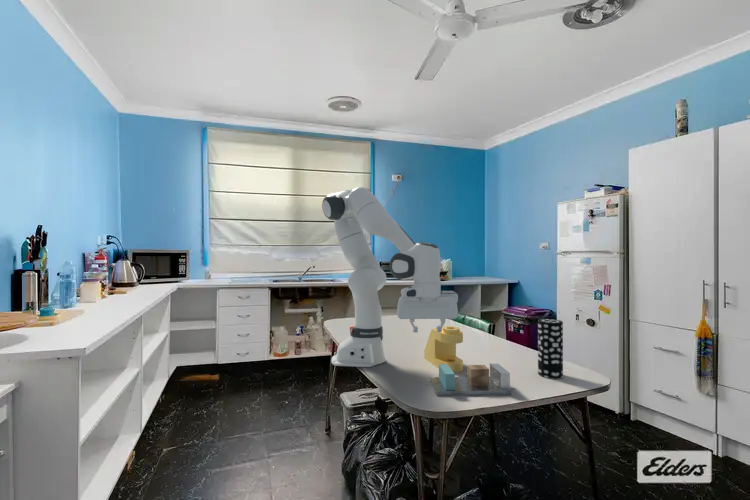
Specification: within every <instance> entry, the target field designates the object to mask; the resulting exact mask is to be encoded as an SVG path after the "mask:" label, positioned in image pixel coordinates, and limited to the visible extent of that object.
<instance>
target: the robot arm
mask: <svg viewBox="0 0 750 500" xmlns="http://www.w3.org/2000/svg"><path fill="white" fill-rule="evenodd" d="M321 203H322V204H321V206H322V207H321V208H322V212H323V214H324V216H325V218H327V219H328V220H329V221H334V228H335V229H334V230H335V234H336V236H337V237H336V238H337V239H338V242H339V245H340V248H341V250H342V252H343V255H344V258H345V260H346V261H347V262H348V263H349V264H350V266H351V267H352V269H353V270H354V271H352V272H351V273H350V274H349V276H348V279H347V286H348V288H349V289H350V291H351V294H352V299H353V304H354V325H350V326H349V333H350V335H349V336H348V337H347V338H346V339H344V340H343V341H341V342H340V344H339V345H338V347H337V351H336V354H334V355H333V356H331V364H332V365H333V366H335V367H336V366H337V367H353V368H354V367H356V368H357V367H359V368H371V367H374V366H377V365H381V364H383V363H385V362H386V360H387V359H386V356H385V352H384V347H383V345H384V344H383V339H384V328H383V326H382V325H383V324H382V315H383V313H382V306H381V303H380V299H379V293H378V291H380V290H381V289H383V288H384V286H385V284H386V283H387V274H386V272H385V271H384V270H383V268H382V267H381V265H380V264H379V262H378V260H377V259H376V257H375V255H374V254H373V252H372V250H371V248H370V246H369V242H368V240H367V238H366V236H365V233H364V231H365V232H366V233H368V234H370V235H373V236H377V237H378V238H379V237H380V238H383V239H385V240H388V241H390V242H391V243H392V244H394V246H395V247H396V249H398V251H399V252H398V253H395V254H394V255H392V257H391V258H390V260H389V271H390V273H391V275H392V276H393V277H394V278H395V279H396V280H401V281H404V280H413V285H410V286H407V287H404V288H402V289H401V290H400V295H401V296H400V297H398V302H397V307H396V308H397V309H396V315H397V318H399V320H408V321H409V323H410V324H411V326H412V333H418V332H419V331H418V330H419V328H418V326H417V325H415V324H414V323H415V320H439V325H436V328H437V332H442V327H444V326H445V324H446V320H447V319H448V320H450V319H452V320H453V319H454V320H456V319H457V318H458V317H459V308H458V302H459V295H458V293H457V292H456V291H454V290H441V289H442V288H441V287H442V286H441V285H442V284H441V283H442V282H441V277H440V275H441V274H440V273H441V270H442V266H441V263H442V262H441V261H442V260H441V251H440V249H439V246H438V245H436V244H434V243H430V242H425V241H422V242H421V241H419V242H416V243H415V242H414V240H413V239H412V238H411V237H410V235H409V234H408V233H407V232H406V231H405V230H404V228H403V227H401V225H400V224H398V222H397V221H396V220H395V219H394V218H393V217H392V216H391V214H390V213H388V211H387V210H386V209H385V207H384V205H383V204H382V203H381V202H380V201H379V199H378V198H377V197H376V196H375V195H374V193H372V191H371V190H370V189H368V188H367V187H364V186H359V187H355V188H350V189H345V190H343V191H339V192H335V193H330V194H328V195H326V196H325V197H324V198H323V200H322V202H321ZM363 230H364V231H363Z"/></svg>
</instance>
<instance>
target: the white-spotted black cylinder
mask: <svg viewBox="0 0 750 500" xmlns="http://www.w3.org/2000/svg"><path fill="white" fill-rule="evenodd" d="M563 343H564V322H563V321H562V320H560V319H555V318H539V319H538V320H537V374H538V375H539V376H540V377H543V378H547V379H552V380H553V379H554V380H555V379H558V380H559V379H563V378H564V351H563V350H564V346H563V345H564V344H563Z"/></svg>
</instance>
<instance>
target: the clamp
mask: <svg viewBox="0 0 750 500" xmlns="http://www.w3.org/2000/svg"><path fill="white" fill-rule="evenodd" d="M463 342H464V332H463V331H461V330H460V327H458V326H453V325H449V326H447V325H444V326H443V327H442V332H437V327H436V328H431V330H430V332H429V336H428V339H427V341H426V345H425V348H424V354H423V355H424V359H425V360H426V361H427V362H429V363H430V364H431V365H433V366H434V367H436V368H437V369H438V370H439V365H440V364H448V366H449V367H450V368H451V370H452V371H453V372H454V374H455V373H456V374H457V373H460V372H462V371H463V370H464V360H463V359H462V358H459V357H458V356H457V344H461V343H463Z"/></svg>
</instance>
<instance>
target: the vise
mask: <svg viewBox="0 0 750 500" xmlns="http://www.w3.org/2000/svg"><path fill="white" fill-rule="evenodd" d="M510 374H511V372H509V371H508V370H506V368H504V367H503V366H502V365H501V364H499V363H489V386H471V385H470V384H469V383H468V381H467V376H455V390H445V388H444V386H443V385H442V383H441V381H440V380H439V376H438V377H437V376H436V377H434V376H433V377H431V376H430V377H429V383H430V385H431V387H432V389H433V390H434V393H435V394H436V397H455V396H456V397H461V396H462V397H463V396H464V397H465V396H466V397H467V396H470V397H471V396H479V397H480V396H512V395H513V393H512V392H513V391H512V389H511V375H510Z"/></svg>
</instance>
